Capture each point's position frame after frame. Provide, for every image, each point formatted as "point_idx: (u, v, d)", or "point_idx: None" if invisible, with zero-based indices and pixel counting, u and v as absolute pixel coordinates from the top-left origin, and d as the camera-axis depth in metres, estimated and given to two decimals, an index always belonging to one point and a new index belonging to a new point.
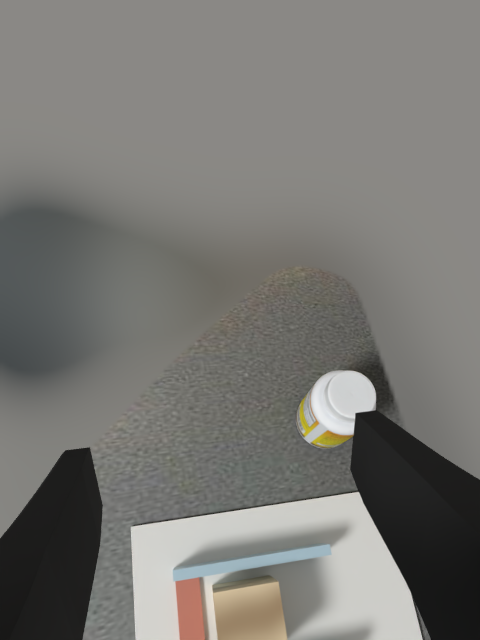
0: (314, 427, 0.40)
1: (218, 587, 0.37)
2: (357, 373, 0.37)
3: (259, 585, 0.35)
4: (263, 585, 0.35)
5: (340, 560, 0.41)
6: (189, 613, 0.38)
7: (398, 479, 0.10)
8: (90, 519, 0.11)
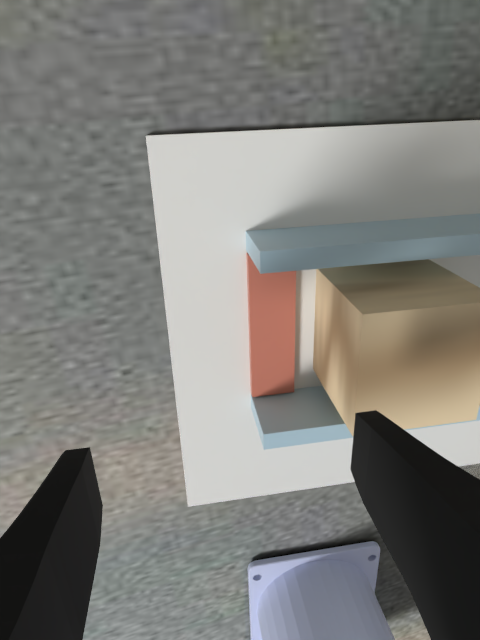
0: None
1: (347, 285, 0.17)
2: None
3: (461, 305, 0.16)
4: (469, 305, 0.16)
5: None
6: (271, 312, 0.20)
7: (398, 479, 0.10)
8: (90, 519, 0.11)
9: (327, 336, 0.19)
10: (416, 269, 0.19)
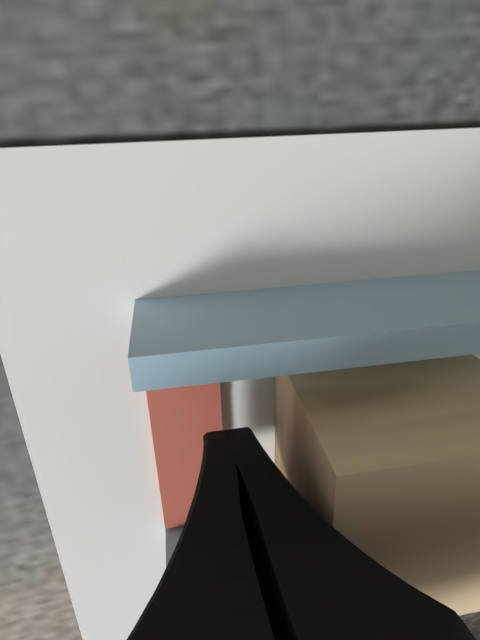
0: None
1: (316, 392, 0.11)
2: None
3: None
4: None
5: None
6: (185, 417, 0.13)
7: (244, 502, 0.10)
8: None
9: (289, 457, 0.12)
10: None
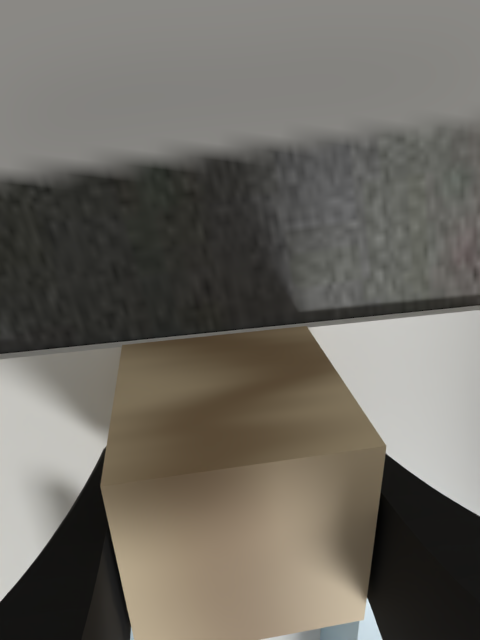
0: None
1: None
2: None
3: (117, 545, 0.08)
4: (116, 534, 0.08)
5: None
6: None
7: None
8: None
9: None
10: None
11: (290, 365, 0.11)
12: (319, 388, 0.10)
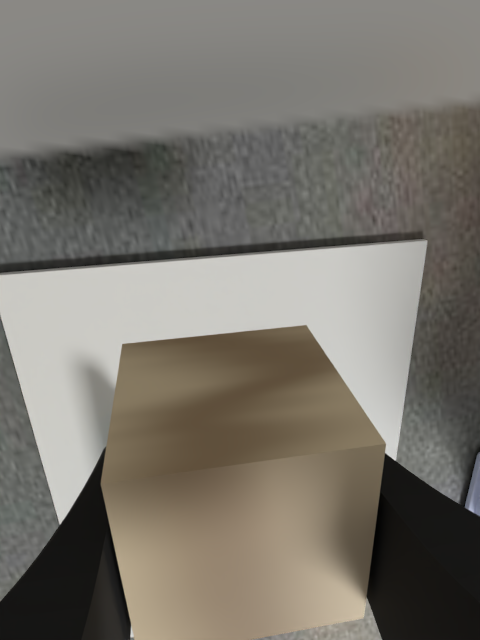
0: None
1: None
2: None
3: (117, 542, 0.08)
4: (117, 532, 0.08)
5: None
6: None
7: None
8: None
9: None
10: None
11: (290, 364, 0.11)
12: (319, 386, 0.10)
